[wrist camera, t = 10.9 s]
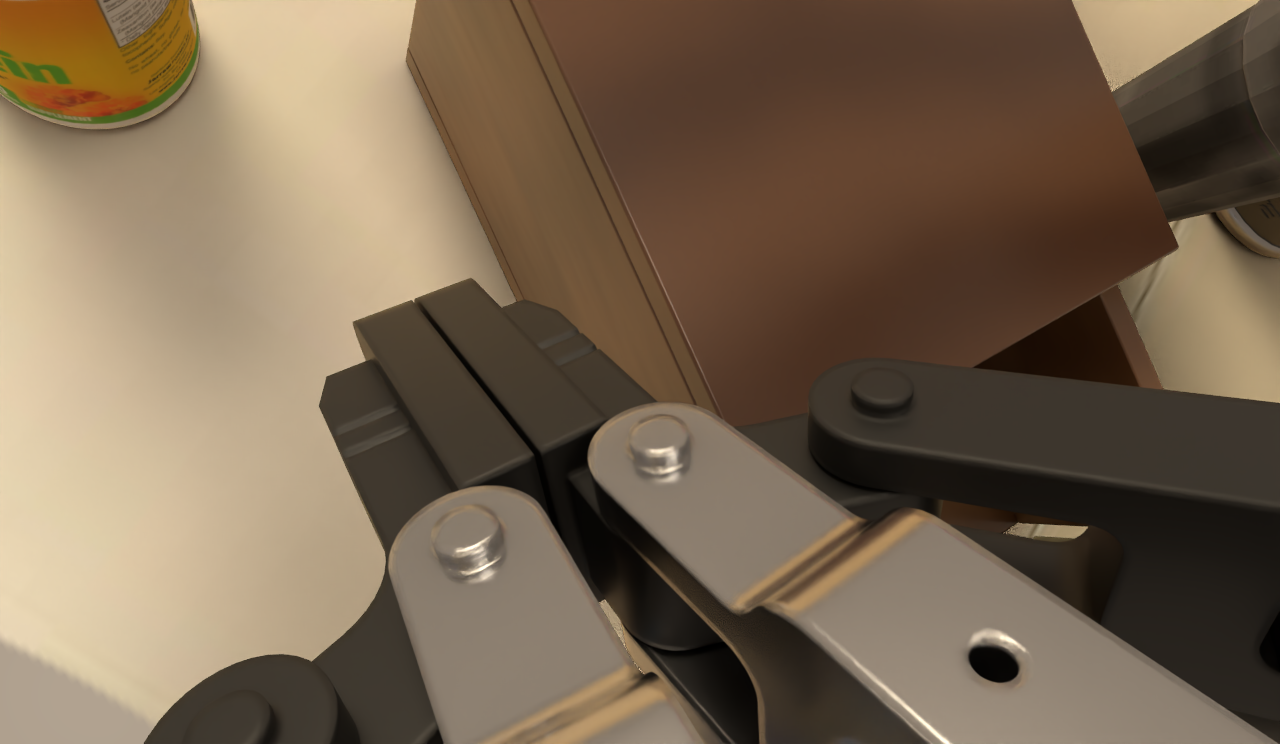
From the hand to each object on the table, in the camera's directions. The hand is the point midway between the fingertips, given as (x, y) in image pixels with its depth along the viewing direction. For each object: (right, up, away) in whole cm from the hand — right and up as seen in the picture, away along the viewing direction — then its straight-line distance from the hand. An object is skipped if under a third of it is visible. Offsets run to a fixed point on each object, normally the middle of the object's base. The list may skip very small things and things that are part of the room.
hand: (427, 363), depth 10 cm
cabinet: (+5, +6, +17) cm, 19 cm away
